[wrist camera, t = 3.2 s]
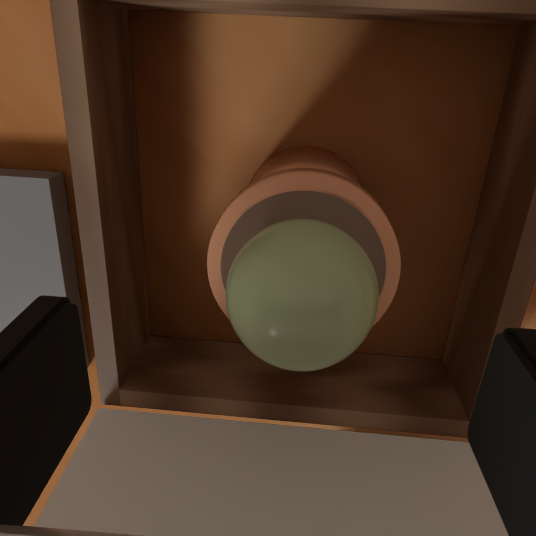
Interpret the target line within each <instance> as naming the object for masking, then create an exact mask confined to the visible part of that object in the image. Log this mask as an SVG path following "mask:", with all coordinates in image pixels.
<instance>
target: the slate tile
mask: <svg viewBox="0 0 536 536" xmlns="http://www.w3.org/2000/svg"><path fill="white" fill-rule="evenodd" d="M42 295H45V296H59V297H67V298H69V300H70V302H71V304H75V305H77V307H78V311H79V318H80V324H81V331H82V338H83V344H84V351H85V358H86V364H87V368H88V366H89V358H88V350H87V343H86V336H85V328H84V321H83V314H82V306H81V299H80V292H79V284H78V277H77V269H76V262H75V255H74V247H73V240H72V233H71V225H70V218H69V211H68V203H67V196H66V189H65V181H64V174H63V172H54V171H38V170H22V169H6V168H0V332H1V331H2V330H3V329H4V328H5V327H7V326H8V325H9V324H10V323H11V322H12V321H13V320H14V319H15V318H16V317H17V316H18V315H19V314H20V313H21V312H22V311H24V310H25V309H26V308H27V307H28V306H29V305H30V304H31V303H32V302H33V301H34V300H35V299H36V298H37V297H39V296H42Z"/></svg>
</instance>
